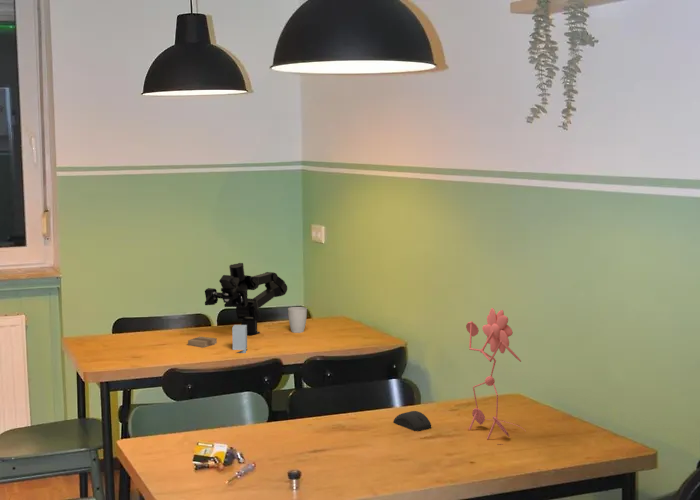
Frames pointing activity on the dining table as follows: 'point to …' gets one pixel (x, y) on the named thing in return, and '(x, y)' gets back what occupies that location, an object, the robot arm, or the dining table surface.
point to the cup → (297, 318)
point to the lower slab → (203, 347)
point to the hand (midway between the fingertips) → (214, 304)
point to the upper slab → (202, 341)
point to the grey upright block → (239, 338)
